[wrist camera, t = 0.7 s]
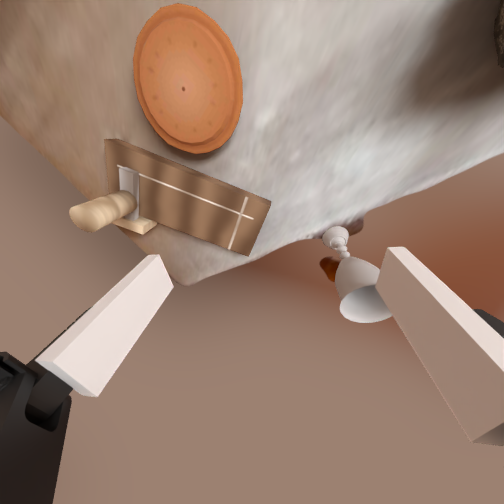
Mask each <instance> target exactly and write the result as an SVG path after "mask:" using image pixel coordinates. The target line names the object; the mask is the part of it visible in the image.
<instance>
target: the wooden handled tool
mask: <svg viewBox="0 0 504 504" xmlns="http://www.w3.org/2000/svg"><path fill="white" fill-rule="evenodd" d="M119 179H120V190H119V191H116V192H114V193H111V194H108V195H105V196H102V197H99V198H97V199H94V200H91V201H88V202H85V203H82V204H80V205H77V206H74V207H72V208H71V209H70V211H69V214H70V217H71V219H72V221H73V222H74V223H75V225H76V226H78V227H79V228H80V229H82V230H84V231H87V232H95V231H97V230H99V229H100V228H102V227H104V226H106V225H108V224H110V223H113V224H115V225H118V226H121V227H123V228H126V229H129V230H132V231H134V232H137V233H140V234H145V233H146V232H148V231H149V230H150V229H152V228H153V227H154V226H156V225H157V222H155V221H152V220H150V219H147V218H144V217H142V216H139V172H137V171H135V170H132V169H130V168H127V167H122V168H119Z"/></svg>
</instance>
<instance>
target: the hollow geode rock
mask: <svg viewBox="0 0 504 504" xmlns="http://www.w3.org/2000/svg"><path fill="white" fill-rule="evenodd" d="M494 37H495V43H496V49H497V54H498V65H500V66H501V67H502V68H504V0H501V3H500V7H499V12H498V16H497V18H496V19H495V26H494Z"/></svg>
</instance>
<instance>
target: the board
mask: <svg viewBox="0 0 504 504" xmlns="http://www.w3.org/2000/svg"><path fill="white" fill-rule="evenodd" d="M104 143H105V154H106V166H107V178H108V190H109V194H111V193H114V192H116V191H119V190H120V179H119V168H122V167H127V168H130V169H132V170H135V171H137V172H139V216H142V217H144V218H147V219H150V220H152V221H155V222H157V223H160V224H163V225H165V226H168V227H171V228H173V229H176V230H179V231H181V232H184V233H187V234H189V235H192V236H195V237H197V238H200V239H203V240H205V241H208V242H211V243H213V244H216V245H219V246H221V247H224V248H227V249H229V250H232V251H235V252H237V253H240V254H243V255H245V256H248V257H249V254H250V252H251V250H252V248H253V245H254V243H255V241H256V238H257V236H258V234H259V232H260V229H261V227H262V225H263V222H264V220H265V218H266V215H267V213H268V211H269V209H270V206H271V201H269V200H267V199H264V198H262V197H259V196H257V195H254V194H252V193H250V192H247V191H245V190H242V189H240V188H237V187H235V186H232V185H230V184H227V183H225V182H222V181H220V180H218V179H215V178H213V177H210V176H208V175H205V174H203V173H200V172H198V171H195V170H193V169H190V168H188V167H186V166H183V165H181V164H178V163H176V162H173V161H171V160H168V159H166V158H163V157H161V156H158V155H156V154H154V153H151V152H149V151H146V150H144V149H141V148H139V147H136V146H134V145H131V144H129V143H126V142H124V141H122V140H119V139H104Z"/></svg>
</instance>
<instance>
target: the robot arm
mask: <svg viewBox="0 0 504 504" xmlns="http://www.w3.org/2000/svg"><path fill="white" fill-rule="evenodd" d="M173 287H174V286H173V284H172V282H171V280H170V277H169V275H168V273H167V271H166V269H165V266H164V264H163V262H162V260H161V258H160V255H148V256H147V257H146V258H145V259H143V260H142V261H141V262H140V263H139V264H138V265H137V266H136V267H135V268H134V269H133V270H132V271H131V272H129V273H128V274H127V275H126V276H125V277H124V278H123V279H122V280H121V281H120V282H119V283H118V284H117V285H115V286H114V287H113V288H112V289H111V290H110V291H109V292H108V293H107V294H106V295H105V296H103V297H102V298H101V299H100V300H99V301H98V302H97V303H96V304H95V305H94V306H92V307H91V308H89V309H88V310H86V311H85V312H84V313H83V314H82V315H81V316H79V317H78V318H77V319H76V321H75V322H73V323H72V324H71V325H70V326H69V327H68V328H67V330H64V331H63V332H62V333H61V334H60V335H59V336H58V337H57V338H55V339H54V340H53V341H52V342H51V343H50V344H49V345H48V346H47V347H46V348H44V349H43V350H42V351H41V352H40V353H39V354H38V355H37V356H36V357H35V358H34V359H33V360H31V361H30V362H29V363H28V364H26V365H25V364H23V363H22V362H20V361H19V360H17V359H16V358H14V357H13V356H12V355H10V354H9V353H7V352H0V504H52V503H53V498H54V493H55V488H56V482H57V477H58V472H59V465H60V461H61V456H62V450H63V445H64V439H65V434H66V429H67V423H68V418H69V412H70V408H71V402H72V401H71V396H69V393H70V392H71V391H72V390H73V389H74V390H76V391H77V392H78V393H80V394H81V395H84V396H93V397H98V396H99V394H100V392H101V391H102V390H103V388H104V387H105V385H106V384H107V382H108V381H109V380H110V378H111V377H112V375H113V374H114V372H115V371H116V369H117V368H118V366H119V365H120V364H121V362H122V361H123V359H124V358H125V357H126V355H127V354H128V352H129V351H130V349H131V348H132V346H133V345H134V343H135V342H136V341H137V339H138V338H139V336H140V335H141V333H142V332H143V330H144V329H145V328H146V326H147V325H148V323H149V322H150V320H151V319H152V317H153V316H154V315H155V313H156V312H157V310H158V308H159V307H160V306H161V304H162V303H163V302H164V300H165V299H166V297H167V295H168V294H169V293H170V291H171V290H172V288H173ZM375 288H376V289H377V291H378V292H379V294H380V296H381V297H382V299H383V301H384V302H385V304H386V305H387V307H388V309H389V310H390V312H391V314H392V315H393V317H394V319H395V320H396V322H397V323H398V325H399V327H400V328H401V330H402V332H403V333H404V335H405V336H406V338H407V339H408V341H409V343H410V345H411V346H412V348H413V349H414V351H415V353H416V354H417V356H418V357H419V359H420V361H421V362H422V364H423V366H424V367H425V369H426V371H427V372H428V374H429V375H430V377H431V379H432V380H433V382H434V383H435V385H436V387H437V388H438V390H439V392H440V393H441V395H442V397H443V398H444V400H445V401H446V403H447V405H448V406H449V408H450V409H451V411H452V413H453V414H454V416H455V418H456V419H457V421H458V423H459V424H460V426H461V427H462V429H463V431H464V432H465V434H466V436H467V437H468V439H469V441H470V442H473V443H481V444H489V445H498V446H503V445H504V323H503V322H502V321H500V320H499V319H497V318H495V317H493V316H492V315H490V314H488V313H487V312H485V311H483V310H480V309H471V308H470V307H469V306H468V305H467V304H466V303H464V301H462V300H461V299H460V298H459V297H458V296H457V295H456V294H455V293H454V292H453V291H451V290H450V289H449V288H448V287H447V286H446V285H445V284H444V283H443V282H442V281H441V280H440V279H439V278H437V277H436V276H435V275H434V274H433V273H432V272H431V271H430V270H429V269H428V268H426V266H424V265H423V264H422V263H421V262H420V261H419V260H418V259H417V258H416V257H415V256H414V255H412V254H411V253H410V252H409V251H408V250H407V249H406V248H405V247H388V248H387V250H386V254H385V257H384V260H383V263H382V266H381V270H380V273H379V276H378V279H377V283H376V286H375Z"/></svg>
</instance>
